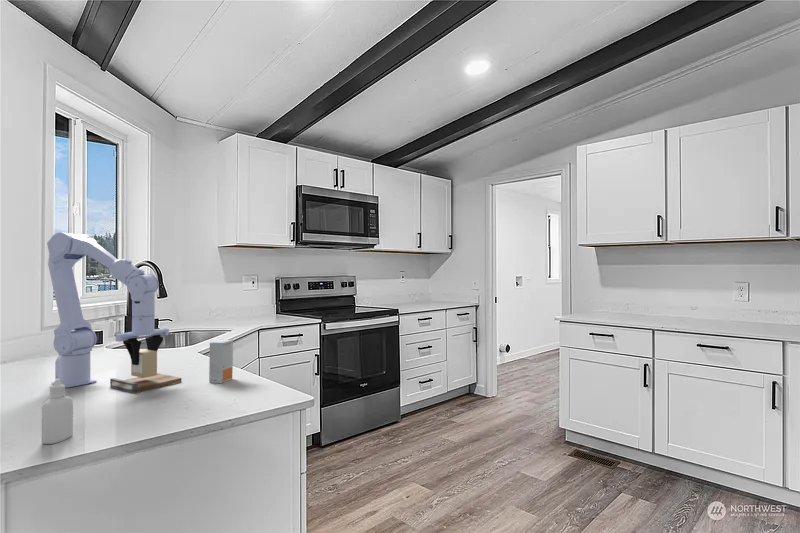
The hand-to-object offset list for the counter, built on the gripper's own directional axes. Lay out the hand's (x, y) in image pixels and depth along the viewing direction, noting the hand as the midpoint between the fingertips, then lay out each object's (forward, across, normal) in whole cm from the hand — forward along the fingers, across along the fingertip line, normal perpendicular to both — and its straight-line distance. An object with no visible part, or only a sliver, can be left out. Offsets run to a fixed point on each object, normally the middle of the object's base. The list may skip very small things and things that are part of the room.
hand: (143, 363), depth 134 cm
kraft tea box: (+3, 0, 0) cm, 4 cm away
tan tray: (+6, +1, 0) cm, 6 cm away
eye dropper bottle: (+7, -33, -27) cm, 43 cm away
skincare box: (+7, +15, -15) cm, 22 cm away
